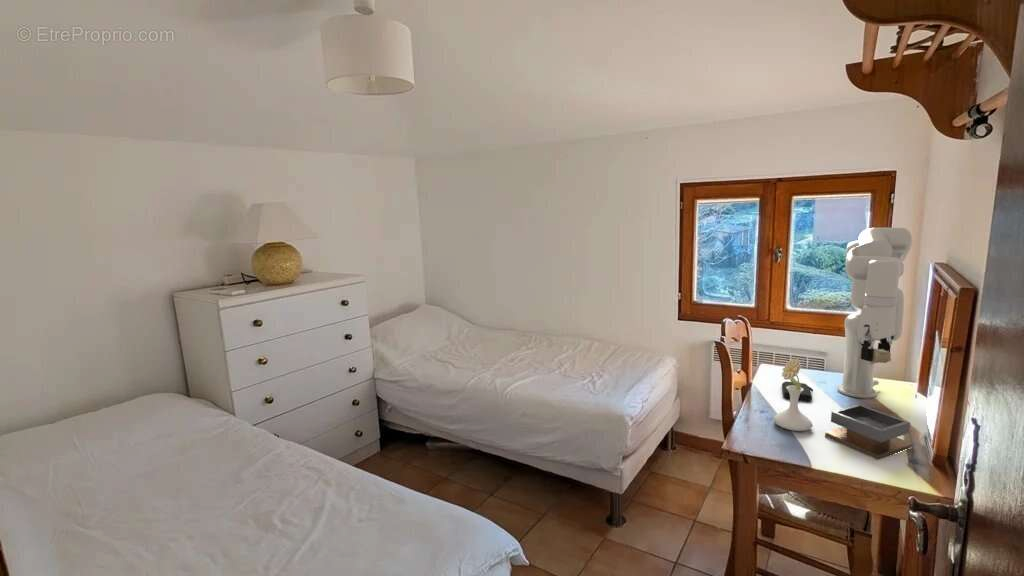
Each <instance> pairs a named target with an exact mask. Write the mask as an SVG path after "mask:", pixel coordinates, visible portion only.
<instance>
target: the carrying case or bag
mask: <svg viewBox="0 0 1024 576" xmlns="http://www.w3.org/2000/svg"><path fill="white" fill-rule="evenodd" d="M800 383H801V388H803V389H804V390H803V391H802V392H801V393H800V395H799V399H798V401H800V400H801V402H810V401H811V400H813V395H812V392H813V391H814V389H813V388H812V387H810V385H808V384H807V383H804V382H800ZM787 386H796V385H794V384H793V383H792V382H791V381H788V380H786V381H784V382H782V384H781V389H782V390H781V391H782V395H783V396H784V398H785V399H786V400H790V393H789V391H788V389H787V388H786V387H787Z"/></svg>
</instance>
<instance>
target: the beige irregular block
mask: <svg viewBox="0 0 1024 576" xmlns="http://www.w3.org/2000/svg"><path fill="white" fill-rule="evenodd" d="M868 337H869V338H871V337H870V336H868ZM867 341H868V342H869V343H870V340H867ZM874 346H875V344H874V345H873V347H874ZM872 349H873V348H872ZM891 357H892V353H891V352H890V353H889V351H886V350H884V349H878V348H874V354H873V361H872V362H871V363H869V364H874V363H875V364H878V363H884V364H887V363H889V362H891V361H892V358H891ZM875 364H874V365H875Z"/></svg>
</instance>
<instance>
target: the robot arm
mask: <svg viewBox="0 0 1024 576" xmlns="http://www.w3.org/2000/svg"><path fill="white" fill-rule="evenodd" d="M912 245H913V237H912V233H911V232H910V231H909V230H908V229H907V228H905V227H870V228H868V229H865V230H863V231H862V232H861V233H860V234H859V236H858V240H855V241H852V242H851V241H850V242H849V243H848V244H847V246H846V249H845V251H846V257H845V273H846V276H847V277H848V278H849V279H851V288H850V289H851V291H850V292H851V293H850V304H851V307H852V308H854V309H855V310H859V311H861V313H851V314H849V315H847V316H846V317H845V320H844V322H843V323H844V334H845V343H844V344H845V345H844V347H845V348H844V361H843V374H842V383H841V384H839V385H837V387H836V388H837V389H836V390H837V391H838V392H839V393H841V394H843V395H846V396H848V397H852V398H859V399H872V398H876V397H877V395H878V392H877V390H875V389H874V387H875V386H879V383H880V382H879V380H877V379H876V380H874V372H875V364H876V363H874V364H869V363H871V362H872V361H873V354H874V349H875V347H874V346H875V343H876V341H879V342H878V343H877V345H878V346H877V349H884V350H886V351H889V353H890V354H891V345H893V342H896V341H898V340H900V338H901V336H902V333H903V324H904V310H905V309H904V308H905V297H904V292H903V290H902V289H900V287H899V280H900V278H901V277H902V276H903V274H904V270H905V267H904V262H905V260H906V258H907V255H908V254H909V252H910V250H911V247H912ZM868 336H870V337H871V338H869V337H868ZM867 340H870V343H869V342H868V341H867ZM873 345H874V346H873ZM872 348H873V349H872Z"/></svg>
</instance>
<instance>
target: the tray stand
mask: <svg viewBox="0 0 1024 576" xmlns="http://www.w3.org/2000/svg"><path fill="white" fill-rule="evenodd" d="M830 422H831V423H832V424H834V425H835V424H836V425H838V426H840V427H837V428H835V429H832V430H828V431H825V433H824V434H825V435H824V437H825V438H828V439H830V440H832V441H834V442H837V443H839V444H841V445H843V446H845V447H848V448H849V449H852V450H855V451H857V452H859V453H862V454H863V455H865V456H868V457H870V458H873V459H875V460H876V461H879V460H883V459H884V458H887V457H890V455H891V456H894V455H896V454H895V453H897V454H899V453H898V452H900V451H903V450H905V449H908V448H910V447H912V446H914V443H913V442H910V441H907V440H905V439H902V438H900V437H901V436H905V435H908V434H910V429H911V422H910V421H908V420H905V419H902V418H899V417H897V416H894V415H890V414H887V413H885V412H882V411H880V410H877V409H874V408H871V407H868V406H865V405H863V404H854V405H851V406H847V407H842V408H840V409H836V410H832V411H831V414H830ZM903 452H904V451H903ZM900 453H901V452H900ZM893 454H894V455H893Z"/></svg>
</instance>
